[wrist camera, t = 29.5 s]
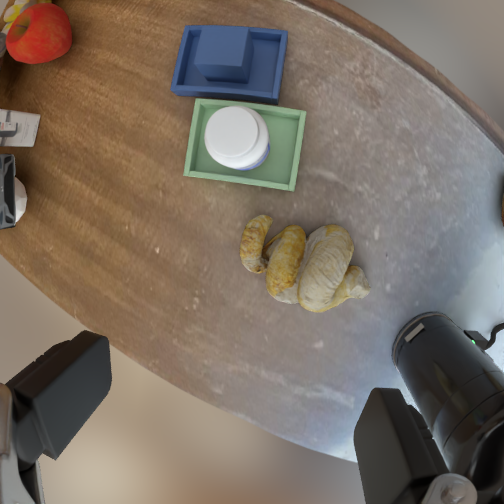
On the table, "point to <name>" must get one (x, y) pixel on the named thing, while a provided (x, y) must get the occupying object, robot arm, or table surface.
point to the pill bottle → (237, 138)
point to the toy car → (10, 193)
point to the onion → (503, 211)
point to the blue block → (225, 53)
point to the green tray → (276, 164)
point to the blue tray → (258, 88)
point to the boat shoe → (2, 47)
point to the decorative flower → (18, 11)
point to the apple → (39, 34)
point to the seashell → (304, 264)
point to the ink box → (18, 128)
